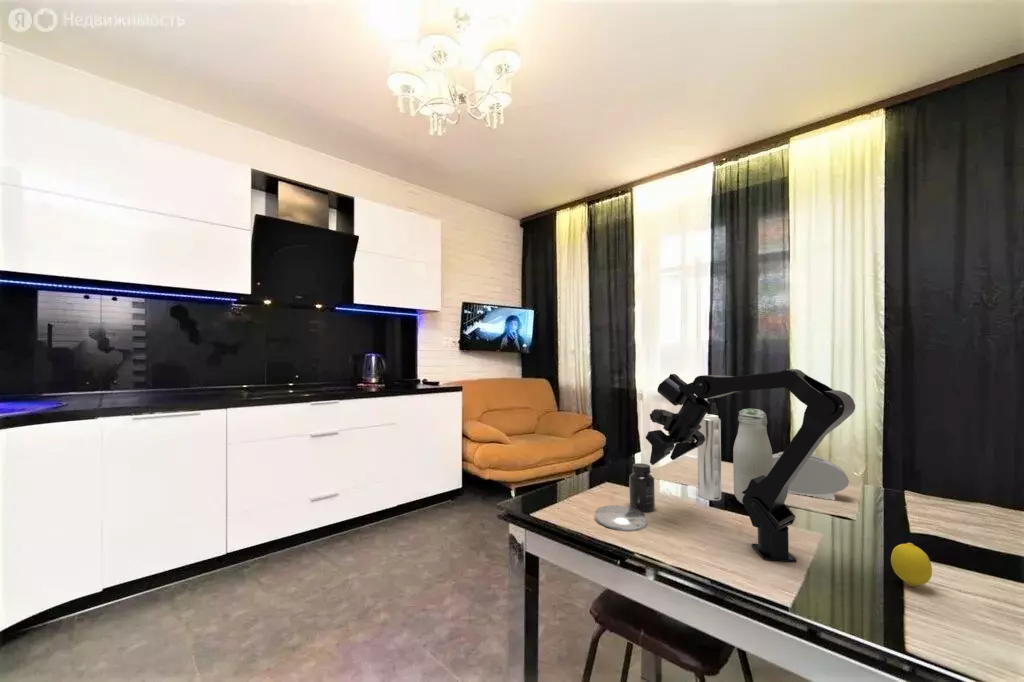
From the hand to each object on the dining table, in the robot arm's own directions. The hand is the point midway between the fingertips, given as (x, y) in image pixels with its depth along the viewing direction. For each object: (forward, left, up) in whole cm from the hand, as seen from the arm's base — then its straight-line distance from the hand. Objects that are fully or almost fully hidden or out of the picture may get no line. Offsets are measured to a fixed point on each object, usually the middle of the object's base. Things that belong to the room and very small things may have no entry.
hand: (661, 461), depth 111 cm
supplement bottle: (+3, +5, -14) cm, 15 cm away
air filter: (+16, -17, -14) cm, 28 cm away
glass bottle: (+10, -27, -14) cm, 32 cm away
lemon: (-29, -39, -14) cm, 51 cm away
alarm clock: (+25, -47, -14) cm, 55 cm away
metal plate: (-7, +12, -14) cm, 20 cm away
